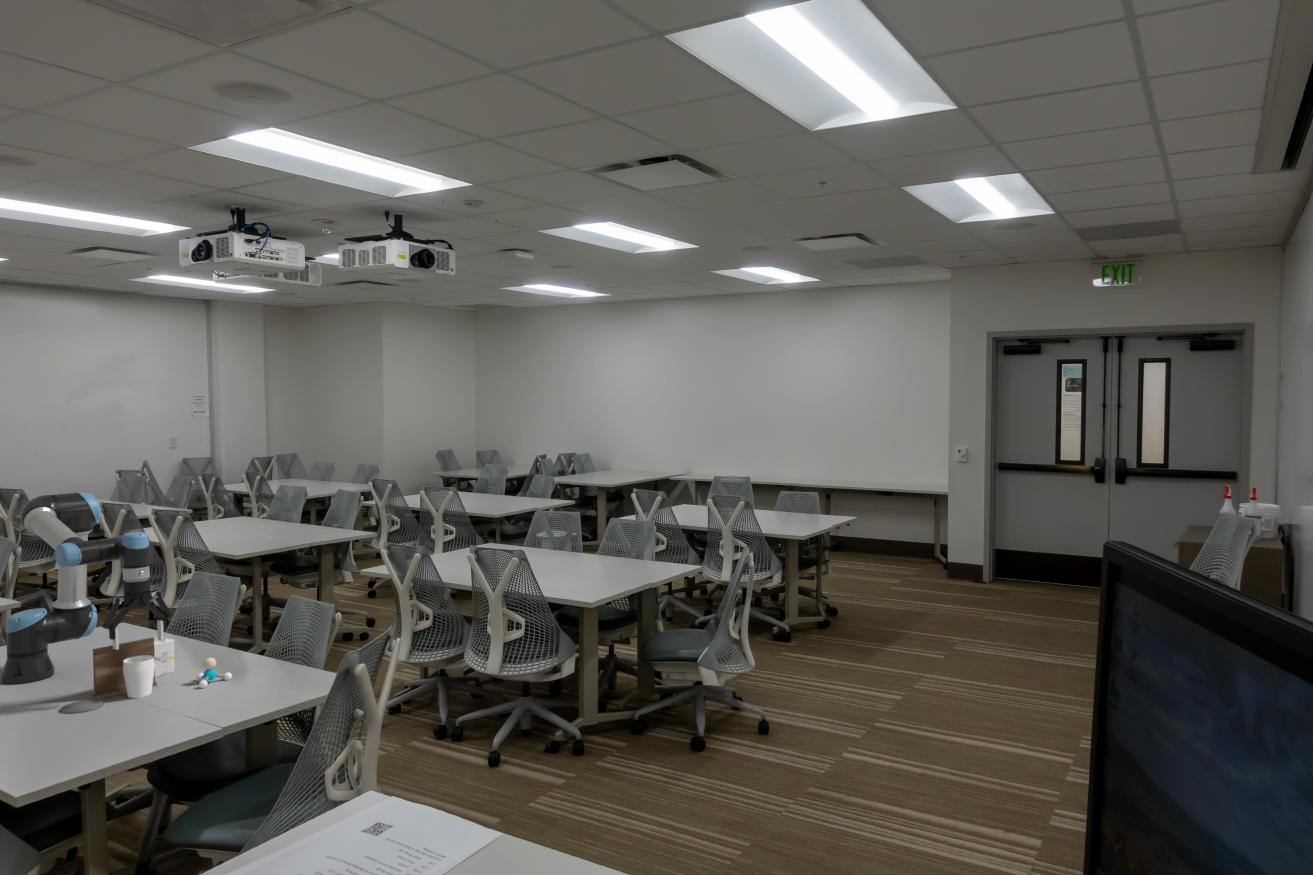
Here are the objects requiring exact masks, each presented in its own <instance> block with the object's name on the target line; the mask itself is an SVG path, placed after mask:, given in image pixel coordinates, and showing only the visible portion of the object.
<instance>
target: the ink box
mask: <svg viewBox="0 0 1313 875" xmlns="http://www.w3.org/2000/svg"><path fill="white" fill-rule="evenodd" d="M151 637H152V638H154V656H155V678H158V677H161V676H164V675H167V674H171V673H174V672H175V671H176V669H175V665H176V664H175V663H176V662H175V639H171V638H168V636H166V635H164V640H162V641H161V640H158V634H152V635H151V636H150V637H149V638H151Z"/></svg>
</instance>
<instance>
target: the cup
mask: <svg viewBox="0 0 1313 875" xmlns="http://www.w3.org/2000/svg"><path fill="white" fill-rule="evenodd" d="M154 669H155V662H154V656H151V655H142V656H135V657H130V658H127V659H125V660H124V661H123V674H124V679H125V684H126V689H127V693H126V694H127V697H128V698H130V699H141V698H145V697H148V696H150V695H151V694H152V691H153V690H152V689H153V686H152V685H153V677H154Z"/></svg>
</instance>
